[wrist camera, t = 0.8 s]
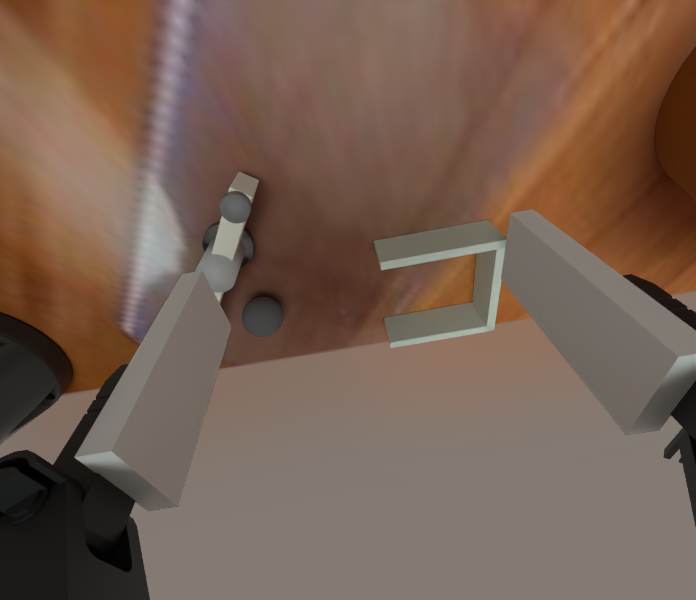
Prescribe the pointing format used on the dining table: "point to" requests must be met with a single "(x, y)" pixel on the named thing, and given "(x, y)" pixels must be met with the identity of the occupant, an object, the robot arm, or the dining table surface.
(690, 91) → the flower pot
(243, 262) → the pivot base
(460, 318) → the box
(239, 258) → the teal-tipped knobbed bar
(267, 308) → the ball
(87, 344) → the dining table surface
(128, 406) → the robot arm
